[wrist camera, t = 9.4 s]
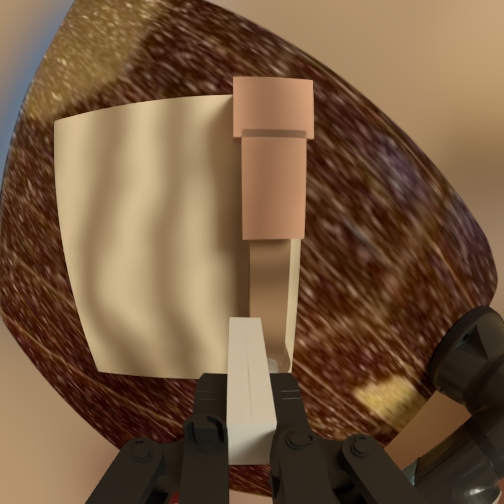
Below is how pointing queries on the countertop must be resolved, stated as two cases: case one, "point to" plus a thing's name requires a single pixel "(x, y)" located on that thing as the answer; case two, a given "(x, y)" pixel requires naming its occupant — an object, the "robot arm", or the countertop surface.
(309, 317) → the countertop surface
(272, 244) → the link
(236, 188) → the board
